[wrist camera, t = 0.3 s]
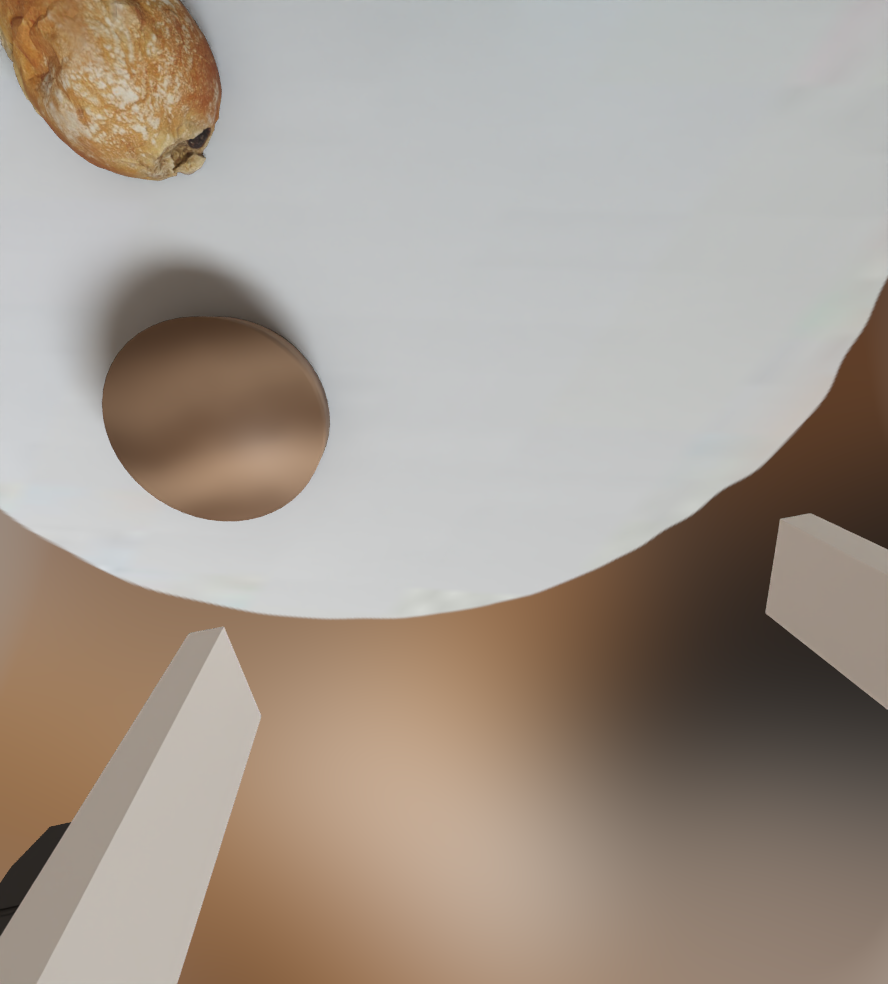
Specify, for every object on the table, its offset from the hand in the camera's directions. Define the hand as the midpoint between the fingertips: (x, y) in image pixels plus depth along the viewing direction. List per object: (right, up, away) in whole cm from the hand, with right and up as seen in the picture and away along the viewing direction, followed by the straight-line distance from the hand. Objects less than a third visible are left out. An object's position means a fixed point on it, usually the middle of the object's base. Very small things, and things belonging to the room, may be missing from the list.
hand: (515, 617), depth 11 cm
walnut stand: (-18, +9, +23) cm, 31 cm away
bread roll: (-20, +27, +16) cm, 38 cm away
